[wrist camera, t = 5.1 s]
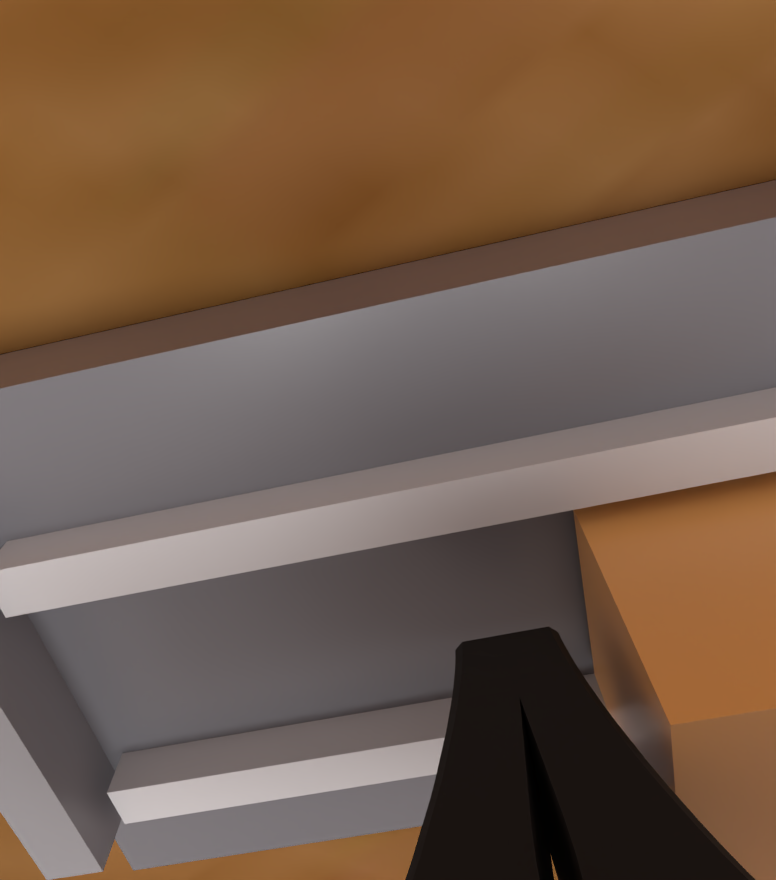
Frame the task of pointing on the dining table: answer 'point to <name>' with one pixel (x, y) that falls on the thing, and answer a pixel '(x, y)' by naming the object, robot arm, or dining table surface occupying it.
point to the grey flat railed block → (343, 518)
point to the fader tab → (693, 647)
